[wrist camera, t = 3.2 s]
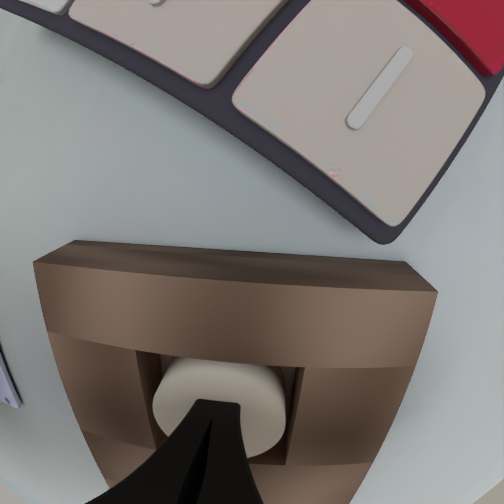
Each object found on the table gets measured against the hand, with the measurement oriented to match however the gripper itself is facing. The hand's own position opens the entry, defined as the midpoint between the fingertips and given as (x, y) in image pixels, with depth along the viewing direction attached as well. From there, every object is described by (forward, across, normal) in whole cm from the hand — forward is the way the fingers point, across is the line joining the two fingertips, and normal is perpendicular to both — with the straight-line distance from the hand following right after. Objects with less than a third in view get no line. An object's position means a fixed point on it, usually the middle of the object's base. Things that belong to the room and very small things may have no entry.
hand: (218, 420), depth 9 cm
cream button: (+2, 0, 0) cm, 2 cm away
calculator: (+3, -1, -15) cm, 15 cm away
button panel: (+3, 0, +9) cm, 9 cm away
